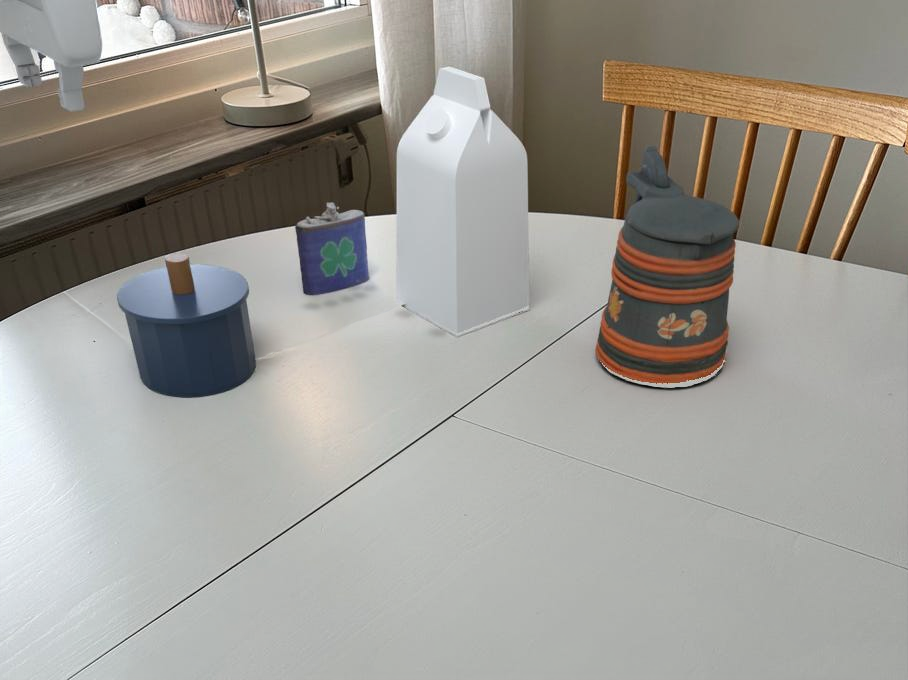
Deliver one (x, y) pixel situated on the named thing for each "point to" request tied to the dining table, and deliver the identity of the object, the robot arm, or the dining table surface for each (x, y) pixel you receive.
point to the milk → (461, 209)
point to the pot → (194, 354)
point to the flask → (332, 251)
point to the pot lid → (182, 292)
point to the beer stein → (668, 282)
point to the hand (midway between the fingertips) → (51, 96)
